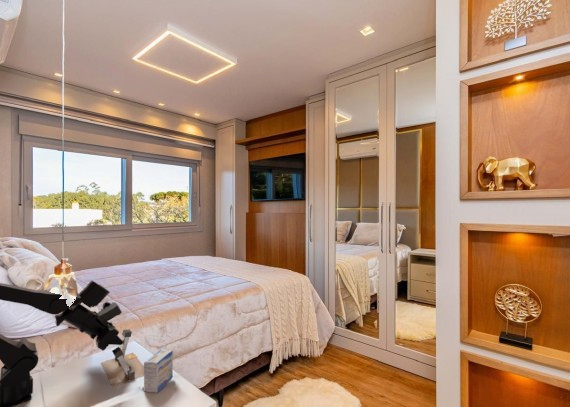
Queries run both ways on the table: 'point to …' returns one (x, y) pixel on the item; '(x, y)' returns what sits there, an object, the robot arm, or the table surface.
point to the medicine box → (158, 371)
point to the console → (117, 372)
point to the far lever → (125, 340)
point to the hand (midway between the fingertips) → (122, 343)
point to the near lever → (121, 359)
